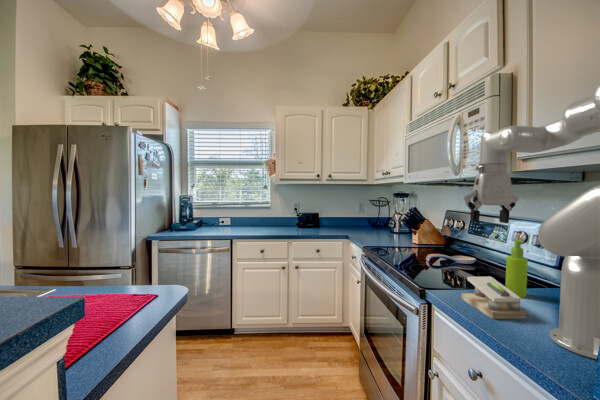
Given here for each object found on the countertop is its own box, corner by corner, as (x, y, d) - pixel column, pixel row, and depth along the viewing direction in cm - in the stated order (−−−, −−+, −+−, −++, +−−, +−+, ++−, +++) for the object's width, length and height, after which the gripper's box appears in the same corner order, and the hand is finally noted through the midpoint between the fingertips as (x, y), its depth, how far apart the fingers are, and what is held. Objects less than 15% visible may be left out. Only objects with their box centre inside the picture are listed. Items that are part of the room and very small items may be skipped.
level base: (525, 318, 78) (526, 303, 78) (492, 318, 78) (493, 303, 78) (489, 298, 92) (490, 285, 92) (461, 298, 92) (461, 286, 91)
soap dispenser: (507, 296, 94) (509, 239, 93) (503, 290, 100) (505, 236, 99) (529, 300, 91) (531, 241, 90) (523, 293, 97) (526, 238, 97)
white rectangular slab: (520, 301, 79) (522, 293, 78) (493, 301, 79) (495, 293, 78) (490, 279, 91) (491, 272, 90) (467, 279, 90) (468, 272, 89)
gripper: (474, 169, 83) (470, 223, 85) (528, 170, 84) (524, 224, 85) (459, 170, 91) (456, 220, 92) (509, 171, 91) (506, 221, 92)
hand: (489, 222), depth 88 cm, fingers open, 9 cm apart
